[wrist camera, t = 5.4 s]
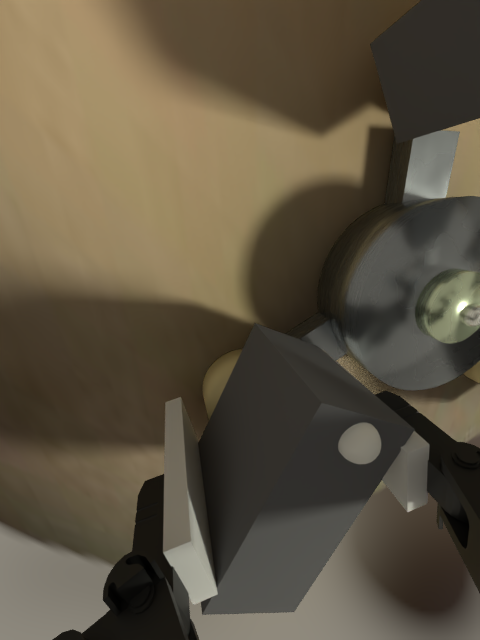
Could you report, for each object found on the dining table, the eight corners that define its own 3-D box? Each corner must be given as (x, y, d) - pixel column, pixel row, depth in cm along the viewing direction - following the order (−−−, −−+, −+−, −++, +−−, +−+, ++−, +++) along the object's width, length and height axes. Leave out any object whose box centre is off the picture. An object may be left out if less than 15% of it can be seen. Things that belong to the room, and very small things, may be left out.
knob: (178, 434, 16) (190, 640, 8) (236, 306, 15) (318, 413, 7) (247, 448, 18) (311, 633, 10) (306, 333, 16) (442, 446, 8)
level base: (217, 250, 13) (242, 267, 9) (431, 112, 14) (557, 62, 9) (328, 433, 19) (377, 499, 15) (478, 333, 19) (571, 368, 15)
